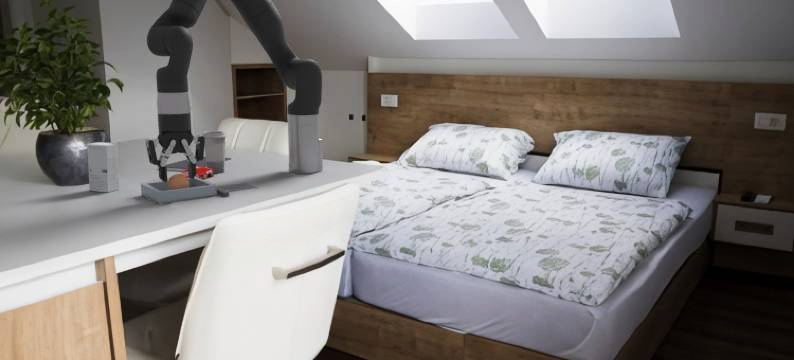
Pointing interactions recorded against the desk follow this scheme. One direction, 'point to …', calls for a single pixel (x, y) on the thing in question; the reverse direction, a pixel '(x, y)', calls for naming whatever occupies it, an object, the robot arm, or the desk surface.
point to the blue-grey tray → (177, 191)
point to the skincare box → (103, 167)
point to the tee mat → (237, 187)
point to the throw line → (222, 192)
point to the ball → (178, 182)
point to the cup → (215, 150)
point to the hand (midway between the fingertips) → (178, 179)
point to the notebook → (184, 164)
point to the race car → (200, 172)
